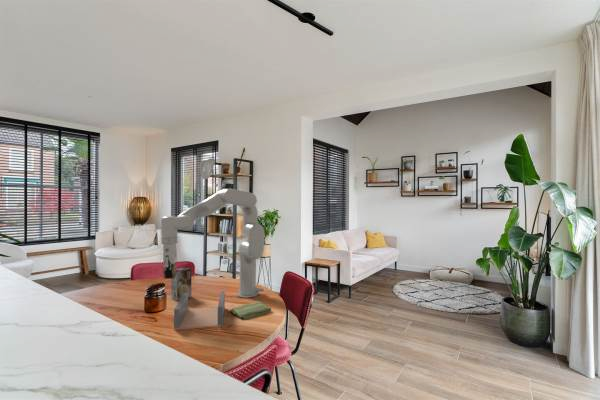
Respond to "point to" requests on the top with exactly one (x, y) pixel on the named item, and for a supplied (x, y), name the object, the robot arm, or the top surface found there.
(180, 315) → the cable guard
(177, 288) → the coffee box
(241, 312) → the washcloth
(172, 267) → the walnut block
